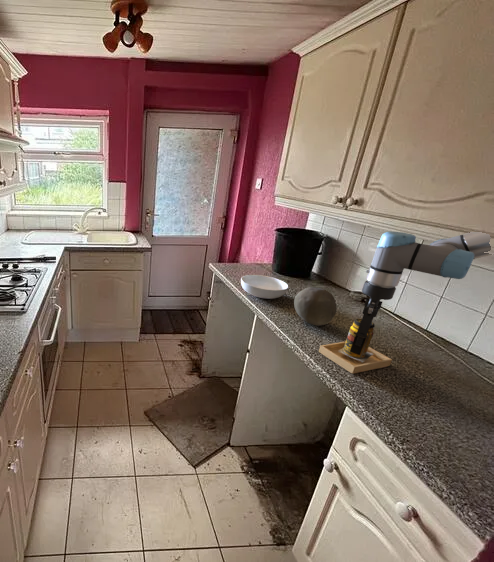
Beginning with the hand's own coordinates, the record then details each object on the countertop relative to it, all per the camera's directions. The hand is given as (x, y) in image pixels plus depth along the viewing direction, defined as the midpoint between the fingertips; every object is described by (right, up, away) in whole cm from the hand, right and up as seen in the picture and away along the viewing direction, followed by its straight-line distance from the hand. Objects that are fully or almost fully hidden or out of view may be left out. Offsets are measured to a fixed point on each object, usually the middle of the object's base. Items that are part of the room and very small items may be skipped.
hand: (356, 348), depth 102 cm
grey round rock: (-1, +5, +24) cm, 24 cm away
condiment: (+1, -2, +1) cm, 3 cm away
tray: (0, -4, +1) cm, 4 cm away
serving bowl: (-9, +15, +50) cm, 53 cm away
